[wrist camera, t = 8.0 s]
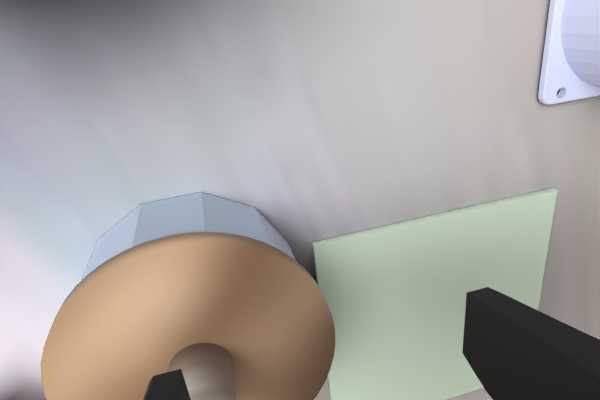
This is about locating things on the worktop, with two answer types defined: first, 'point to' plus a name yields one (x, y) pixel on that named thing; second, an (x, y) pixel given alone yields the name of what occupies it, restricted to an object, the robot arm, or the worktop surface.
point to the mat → (425, 294)
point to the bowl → (184, 224)
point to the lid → (192, 324)
